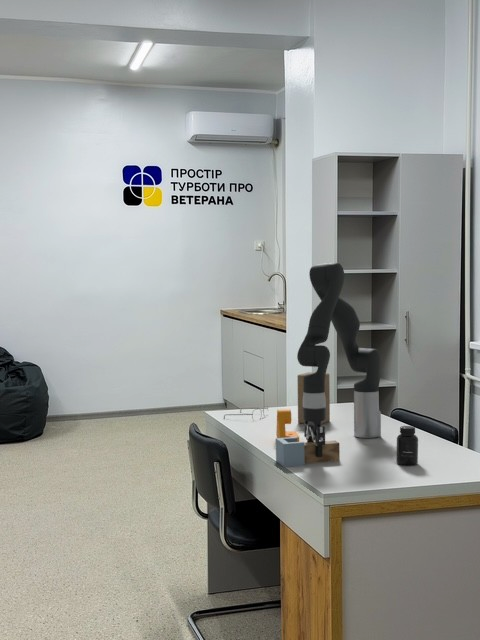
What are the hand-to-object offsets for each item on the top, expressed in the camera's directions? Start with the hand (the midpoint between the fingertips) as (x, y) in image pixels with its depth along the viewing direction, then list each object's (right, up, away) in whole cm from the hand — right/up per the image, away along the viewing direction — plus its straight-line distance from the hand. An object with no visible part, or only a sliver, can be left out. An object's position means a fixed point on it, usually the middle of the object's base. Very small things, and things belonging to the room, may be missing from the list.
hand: (314, 454), depth 269 cm
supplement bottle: (+30, -2, -5) cm, 30 cm away
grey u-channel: (-8, -3, -2) cm, 9 cm away
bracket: (-7, -1, +31) cm, 32 cm away
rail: (0, -2, 0) cm, 2 cm away
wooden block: (+6, +2, +67) cm, 68 cm away
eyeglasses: (-21, +2, +82) cm, 85 cm away
